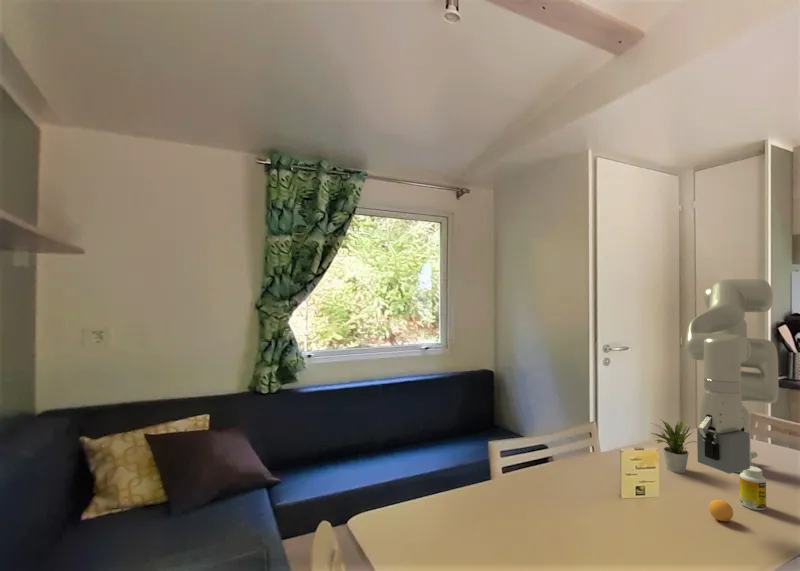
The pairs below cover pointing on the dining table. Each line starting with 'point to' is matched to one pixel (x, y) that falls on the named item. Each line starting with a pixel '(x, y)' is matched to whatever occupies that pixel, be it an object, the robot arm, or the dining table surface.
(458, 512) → the dining table surface
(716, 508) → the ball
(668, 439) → the house plant
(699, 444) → the grey rectangular block
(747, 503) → the supplement bottle
